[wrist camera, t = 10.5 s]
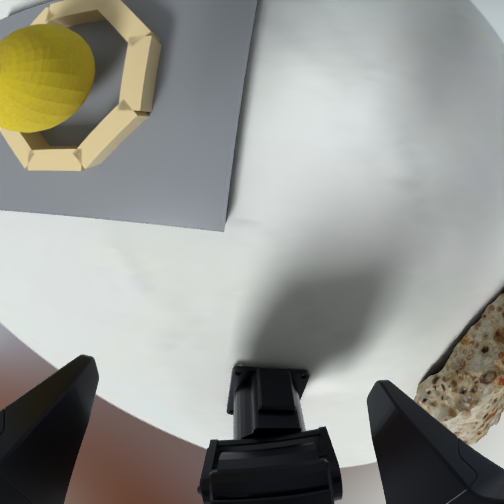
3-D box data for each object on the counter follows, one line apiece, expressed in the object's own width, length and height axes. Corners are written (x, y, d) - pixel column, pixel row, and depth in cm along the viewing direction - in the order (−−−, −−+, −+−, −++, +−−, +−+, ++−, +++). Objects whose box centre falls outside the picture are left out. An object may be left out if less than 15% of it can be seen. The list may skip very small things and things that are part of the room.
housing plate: (225, 223, 19) (222, 245, 16) (-11, 203, 17) (-38, 216, 14) (258, -6, 13) (262, -30, 10) (3, 25, 11) (-24, 19, 8)
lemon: (30, 86, 13) (-59, 87, 6) (91, 24, 12) (11, -14, 5) (67, 145, 15) (-24, 171, 8) (134, 83, 14) (56, 61, 6)
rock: (506, 249, 22) (577, 299, 13) (517, 296, 29) (564, 334, 20) (383, 408, 26) (433, 477, 17) (426, 410, 33) (463, 457, 24)
